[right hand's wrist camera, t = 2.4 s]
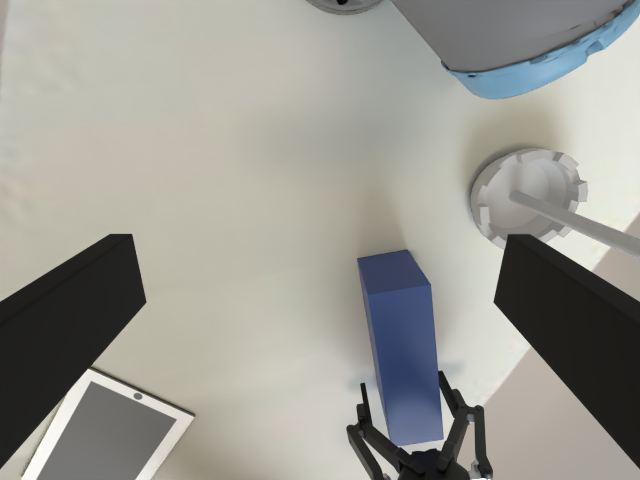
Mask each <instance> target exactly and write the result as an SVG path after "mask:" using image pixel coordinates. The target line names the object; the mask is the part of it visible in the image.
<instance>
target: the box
mask: <svg viewBox="0 0 640 480" xmlns="http://www.w3.org/2000/svg"><path fill="white" fill-rule="evenodd" d="M357 261H358V267H359V273H360V280H361V286H362V292H363V298H364V304H365V310H366V316H367V322H368V329H369V335H370V341H371V347H372V353H373V359H374V365H375V371H376V378H377V384H378V390H379V394H380V399H381V403H382V408H383V412H384V416H385V421H386V425H387V429H388V434H389V438H390V441H391V442H392V443H393V444H395V445H396V446H403V445H409V444H416V443H423V442H429V441H436V440H443V439H444V437H443V425H442V413H441V401H440V390H439V378H438V366H437V354H436V342H435V330H434V318H433V306H432V294H431V284H430V283H429V281H428V280H427V278H426V277H425V275H424V274H423V272H422V271H421V269H420V268H419V266H418V265H417V263H416V262H415V260H414V259H413V257H412V256H411V254H410V253H409V251H408V250H404V251H398V252H392V253H387V254H381V255H375V256H370V257H364V258H358V259H357Z"/></svg>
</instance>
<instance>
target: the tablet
mask: <svg viewBox="0 0 640 480" xmlns="http://www.w3.org/2000/svg"><path fill="white" fill-rule="evenodd" d="M194 417H195V415H193V414H191V413H189V412H187V411H184V410H182V409H180V408H178V407H176V406H173V405H171V404H169V403H167V402H165V401H162V400H160V399H158V398H156V397H154V396H152V395H149V394H147V393H145V392H143V391H141V390H138V389H136V388H134V387H132V386H130V385H127V384H125V383H123V382H121V381H119V380H117V379H114V378H112V377H110V376H108V375H106V374H103V373H101V372H99V371H97V370H95V369H92V368H90V367H89V368H88V370H87V371H86V372H85V373H84V374H83V375H82V376H81V378H80V379H79V380H78V381H77V382H76V383H75V384H74V386H73V387H72V388H71V389H70V390H69V391H68V393H67V395H66V397H65V399H64V401H63V403H62V404H61V406H60V408H59V410H58V412H57V414H56V416H55V418H54V419H53V421H52V423H51V425H50V427H49V429H48V431H47V432H46V434H45V436H44V438H43V440H42V442H41V444H40V446H39V447H38V449H37V451H36V452H35V453H34V455H33V457H32V460H31V462H30V463H29V464H28V466H27V468H26V470H25V472H24V474H23V477H22V479H21V480H150V479H151V477H152V476H153V475H154V473H155V472H156V470H157V469H158V468H159V466H160V465H161V463H162V462H163V461H164V459H165V458H166V456H167V455H168V454H169V452H170V451H171V449H172V448H173V447H174V445H175V444H176V443H177V441H178V440H179V438H180V437H181V436H182V434H183V433H184V431H185V430H186V429H187V427H188V426H189V424H190V423H191V422H192V420H193V419H194Z"/></svg>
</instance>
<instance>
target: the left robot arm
mask: <svg viewBox="0 0 640 480" xmlns="http://www.w3.org/2000/svg"><path fill="white" fill-rule="evenodd" d="M438 378H439V387H440V389H441V391H442V393H443V395H444V398H445V400H446V402H447V404H448V406H449V409H450V411H451V413H452V415H453V418H455V419H454V422H453V425H452V427H451V430H450V433H449V435H448V438H447V441H445V443H444V445H443V448H442V451H438V450H437V449H436V448H435V449H430V450H427V451H425V452H423V451H414V452H412V454H411V455H409V454H408V453H407V452H406V451H405V450H403V449H402V448H401V447H400V448H398V447H397V446H396V445H395V444H393V443H392V442H391V441H390V440H389V439H388V438H386V437H385V436H384V435H383V434H382V433H381V432H379V431H378V430H377V429H376V428H375V427H374V426H373V425H372V419H371V414H370V408H369V403H368V397H367V392H366V386H365V383H361V384H360V385H361V391H362V397H363V404H357V407H356V408H357V415H358V423H357V424H356V425H348V426H347V428H346V429H347V434H348V439H349V443H350V444H351V446H352V448H353V449H354V451H355V453H356V454H357V456H358V458H359V460H360V461H361V463H362V465H363V466H364V468H365V470H366V471H367V473H368V475H369V476H370V478H371V480H391V479H390V477H389V476H388V475H387V474H386V473H384V474H383V473H382V470H381V468H380V466H379V464H378V462H377V461H376V459H375V458H374V456H373V455H372V453H371V451H370V450H369V448H368V447H367V445H366V444H365V442H364V441H363V439H364V440H365V441H366V442H368V443H369V444H370V445H371V446H372V447H373V448H374V449H375V450H376V451H377V452H378V453H379V454H381V455H382V456H383V457H384V458H385V459H386V460H387V461H388V462H389V463H390V464H391V465H393V466H394V468H395V469H396V471H397V472H398V473H399V474H400V475H399V477H398V480H493V470H492V467H491V465H490V463H489V461H488V458H487V456H486V441H485V422H484V408H483V407H482V406H479V405H477V406H475V407H469V406H468V405H466V403H465V401H464V399H463V397H462V395H461V394H460V392H459V390H457V389H452V390H451V388H450V385H449V383H448V381H447V379H446V377H445V375H444V373H443V371H438ZM469 421H471V422H475V457H476V460H475V461H474V462H473V463H472V464H471V470H470V471H468V472H467V470H466V469H465V468H463V467H462V466H461V465H459V464H458V463H457V457H458V454H459V451H460V448H461V445H462V442H463V439H464V435H465V433H466V430H467V426H468V424H469ZM362 438H363V439H362Z"/></svg>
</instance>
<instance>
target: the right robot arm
mask: <svg viewBox="0 0 640 480" xmlns="http://www.w3.org/2000/svg"><path fill="white" fill-rule="evenodd" d="M307 1H308V2H309V3H311V4H312V5H314V6H315V7H317V8H319V9H321V10H323V11H326V12H329V13H333V14H339V15H350V14H357V13H361V12H364V11H367V10H369V9H371V8H373V7H375V6H377V5H378V4H380V3H381V2H383V1H384V0H307ZM391 1H392V3H393V4H394V5H395V6H396V7H397V8H398V10H399V11H400V12H401V13H402V14H403V15H404V17H405V18H406V19H407V20H408V21H409V22H410V24H411V25H412V26H413V27H414V28H415V29H416V31H417V32H418V33H419V34H420V35H421V36H422V38H423V39H424V40H425V41H426V42H427V43H428V45H429V46H430V47H431V48H432V49H433V50H434V52H435V53H436V54H437V55H438V56H439V57H440V59H441V63H442V66H443V67H444V69H445V70H446V71H447V72H449V73H451V74H452V75H455V76H456V77H457V78H458V79H459V81H460V82H461V83H462V84H463V85H464V86H465V87H466V88H467V89H468V90H469V91H470V92H471V93H473V94H474V95H477V96H479V97H481V98H486V99H504V98H509V97H514V96H517V95H521V94H524V93H526V92H529V91H532V90H534V89H537V88H539V87H542V86H544V85H546V84H548V83H550V82H552V81H555V80H556V79H558V78H560V77H562V76H564V75H566V74H568V73H569V72H571V71H573V70H574V69H576V68H578V67H579V66H581V65H582V64H584V63H585V62H586V61H587V57H588V56H589V55H591V54H593V53H595V52H598V51H601V50H603V49H605V48H606V47H608V46H609V45H610V44H611V43H613V42H614V41H615V40H616V39H617V38H619V37H620V36H621V35H622V34H623V33H624V32H625V31H626V30H627V29H628V28H629V27H630V26H631V25H632V23H633V22H634V21H635V20H636V19H637V17H638V16H639V14H640V0H391ZM145 303H146V298H145V293H144V288H143V283H142V279H141V274H140V269H139V264H138V260H137V255H136V250H135V246H134V241H133V236H132V234H109V235H108V236H106V237H104V238H103V239H101V240H100V241H98V242H96V243H95V244H93V245H91V246H90V247H88V248H87V249H85V250H83V251H82V252H80V253H79V254H77V255H75V256H74V257H72V258H70V259H69V260H67V261H66V262H64V263H62V264H61V265H59V266H58V267H56V268H54V269H53V270H51V271H49V272H48V273H46V274H45V275H43V276H41V277H40V278H38V279H36V280H35V281H33V282H32V283H30V284H28V285H27V286H25V287H24V288H22V289H20V290H19V291H17V292H15V293H14V294H12V295H11V296H9V297H7V298H6V299H4V300H2V301H1V302H0V469H1V468H2V467H3V465H4V464H5V463H6V462H7V461H8V460H9V459H10V458H11V456H12V455H13V454H14V453H15V452H16V451H17V450H18V448H19V447H20V446H21V445H22V444H23V443H24V442H25V440H26V439H27V438H28V437H29V436H30V435H31V434H32V432H33V431H34V430H35V429H36V428H37V427H38V426H39V424H40V423H41V422H42V421H43V420H44V419H45V418H46V416H47V415H48V414H49V413H50V412H51V411H52V410H53V408H54V407H55V406H56V405H57V404H58V403H59V402H60V400H61V399H62V398H63V397H64V396H65V395H66V394H67V392H68V391H69V390H70V389H71V388H72V387H73V386H74V384H75V383H76V382H77V381H78V380H79V379H80V378H81V376H82V375H83V374H84V373H85V372H86V371H87V370H88V368H89V367H90V366H91V365H92V364H93V363H94V362H95V360H96V359H97V358H98V357H99V356H100V355H101V354H102V353H103V351H104V350H105V349H106V348H107V347H108V346H109V345H110V343H111V342H112V341H113V340H114V339H115V338H116V337H117V335H118V334H119V333H120V332H121V331H122V330H123V329H124V327H125V326H126V325H127V324H128V323H129V322H130V321H131V319H132V318H133V317H134V316H135V315H136V314H137V313H138V311H139V310H140V309H141V308H142V307H143V306H144V305H145ZM494 303H495V305H496V306H497V307H498V308H499V309H500V310H501V311H502V313H503V314H504V315H505V316H506V317H507V318H508V319H509V321H510V322H511V323H512V324H513V325H514V326H515V327H516V329H517V330H518V331H519V332H520V333H521V334H522V335H523V337H524V338H525V339H526V340H527V341H528V342H529V343H530V345H531V346H532V347H533V348H534V349H535V350H536V351H537V353H538V354H539V355H540V356H541V357H542V358H543V359H544V360H545V362H546V363H547V364H548V365H549V366H550V367H551V368H552V370H553V371H554V372H555V373H556V374H557V375H558V376H559V378H560V379H561V380H562V381H563V382H564V383H565V384H566V386H567V387H568V388H569V389H570V390H571V391H572V392H573V394H574V395H575V396H576V397H577V398H578V399H579V400H580V402H581V403H582V404H583V405H584V406H585V407H586V408H587V409H588V411H589V412H590V413H591V414H592V415H593V416H594V418H595V419H596V420H597V421H598V422H599V423H600V424H601V426H602V427H603V428H604V429H605V430H606V431H607V432H608V433H609V435H610V436H611V437H612V438H613V439H614V440H615V442H616V443H617V444H618V445H619V446H620V447H621V448H622V450H623V451H624V452H625V453H626V454H627V455H628V456H629V457H630V459H631V460H632V461H633V462H634V463H635V464H636V465H637V467H638V468H639V469H640V302H639V301H638V300H636V299H634V298H633V297H631V296H629V295H628V294H626V293H625V292H623V291H621V290H620V289H618V288H616V287H615V286H613V285H612V284H610V283H608V282H607V281H605V280H604V279H602V278H600V277H599V276H597V275H595V274H594V273H592V272H591V271H589V270H587V269H586V268H584V267H582V266H581V265H579V264H578V263H576V262H574V261H573V260H571V259H570V258H568V257H566V256H565V255H563V254H561V253H560V252H558V251H557V250H555V249H553V248H552V247H550V246H549V245H547V244H545V243H544V242H542V241H540V240H539V239H537V238H536V237H534V236H532V235H531V234H508V236H507V241H506V246H505V250H504V255H503V260H502V264H501V269H500V274H499V279H498V283H497V288H496V293H495V298H494Z"/></svg>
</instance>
